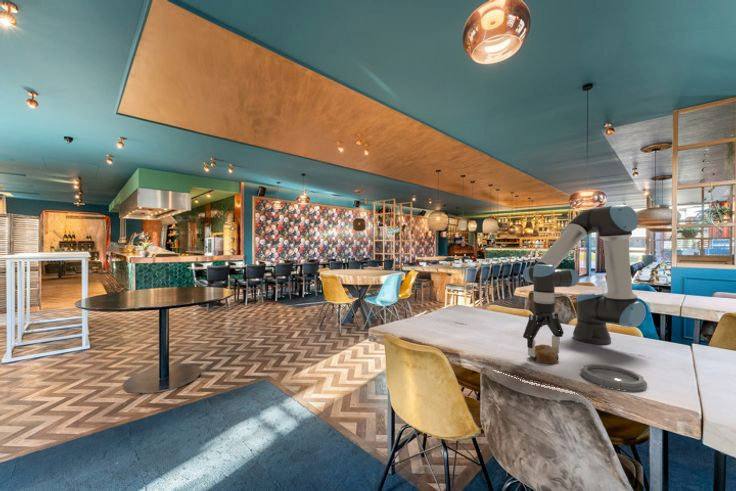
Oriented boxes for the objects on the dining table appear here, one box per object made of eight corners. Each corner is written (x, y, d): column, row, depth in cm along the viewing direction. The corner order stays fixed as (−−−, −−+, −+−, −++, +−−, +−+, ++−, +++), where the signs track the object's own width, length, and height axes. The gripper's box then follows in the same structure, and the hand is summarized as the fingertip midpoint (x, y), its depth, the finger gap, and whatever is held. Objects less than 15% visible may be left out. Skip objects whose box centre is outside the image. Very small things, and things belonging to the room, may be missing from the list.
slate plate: (600, 366, 117) (600, 360, 117) (659, 385, 100) (659, 379, 100) (568, 373, 110) (568, 367, 110) (625, 395, 93) (625, 388, 93)
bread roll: (553, 374, 118) (563, 357, 116) (526, 359, 123) (536, 342, 121) (553, 366, 126) (563, 350, 124) (528, 351, 131) (537, 336, 129)
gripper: (556, 299, 132) (556, 347, 132) (513, 302, 123) (513, 354, 123) (573, 301, 125) (573, 353, 125) (529, 305, 116) (529, 360, 116)
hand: (543, 353), depth 124 cm, fingers open, 13 cm apart
